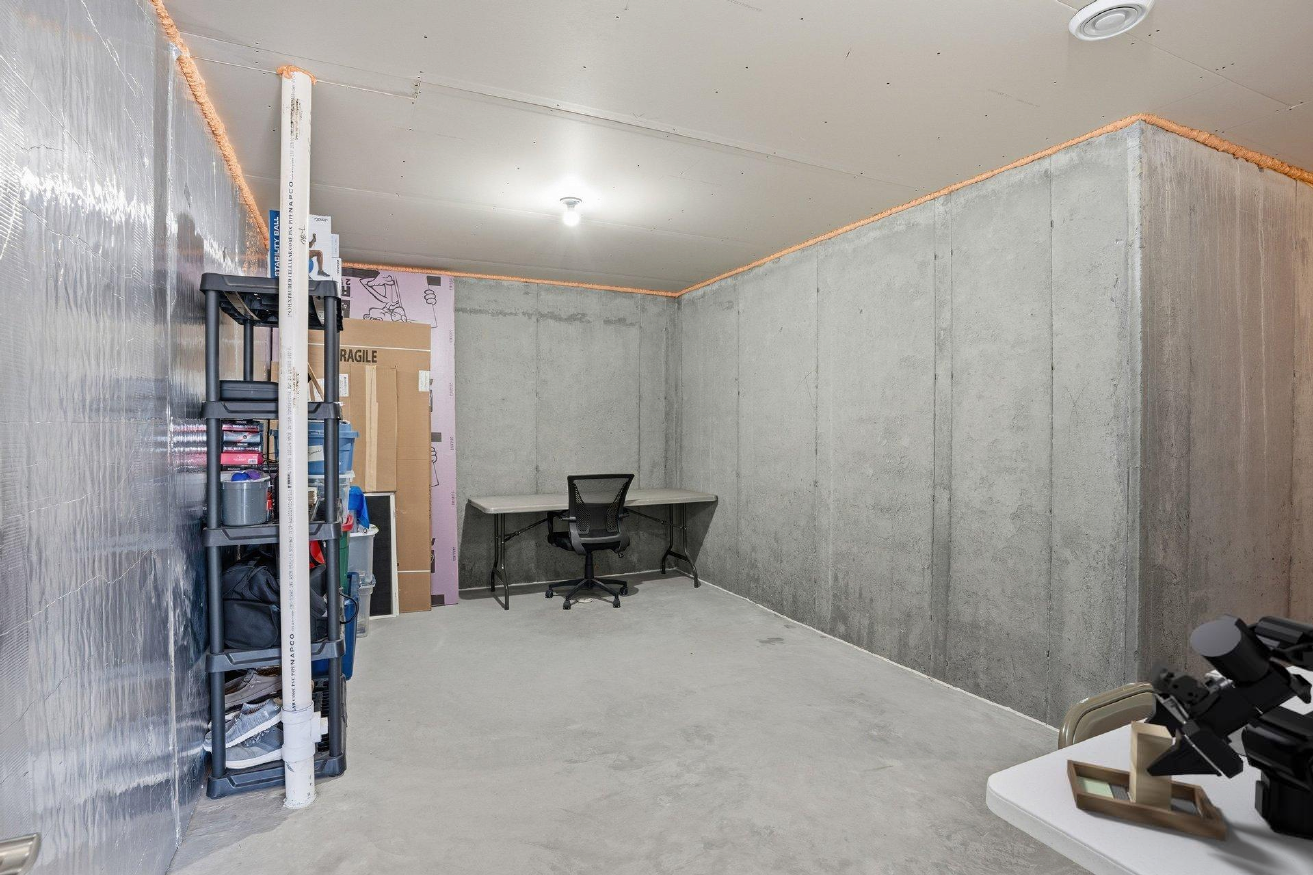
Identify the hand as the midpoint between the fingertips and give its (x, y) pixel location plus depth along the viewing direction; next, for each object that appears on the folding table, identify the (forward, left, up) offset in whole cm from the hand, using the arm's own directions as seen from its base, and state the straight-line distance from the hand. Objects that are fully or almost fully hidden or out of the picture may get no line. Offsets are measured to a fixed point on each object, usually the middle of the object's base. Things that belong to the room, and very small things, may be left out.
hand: (1140, 757), depth 94 cm
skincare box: (-18, -27, -7) cm, 33 cm away
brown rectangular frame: (0, 0, -7) cm, 7 cm away
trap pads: (-2, 0, -7) cm, 7 cm away
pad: (+5, 0, -7) cm, 9 cm away
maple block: (-1, 0, -7) cm, 7 cm away
